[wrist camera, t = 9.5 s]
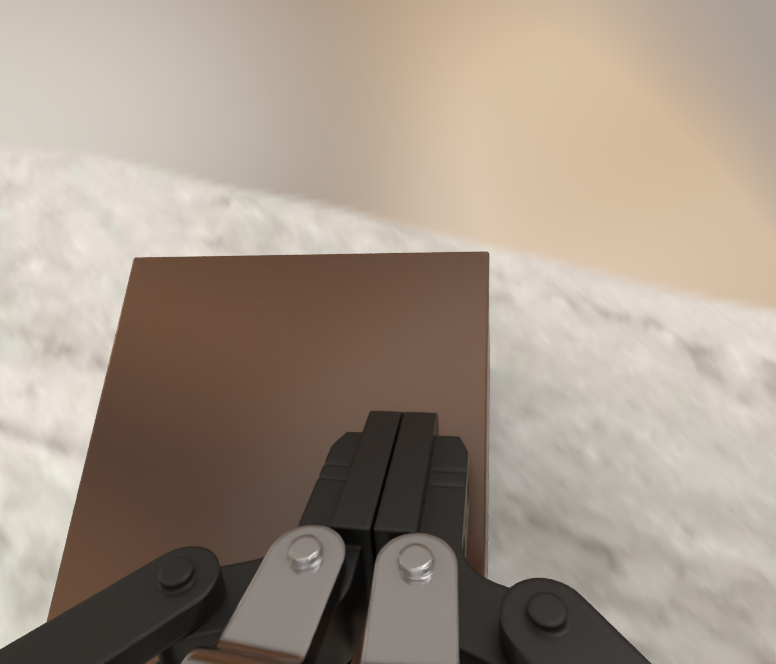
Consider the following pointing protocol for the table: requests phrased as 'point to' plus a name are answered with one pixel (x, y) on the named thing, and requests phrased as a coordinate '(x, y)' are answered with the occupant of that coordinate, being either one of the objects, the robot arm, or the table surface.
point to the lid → (267, 398)
